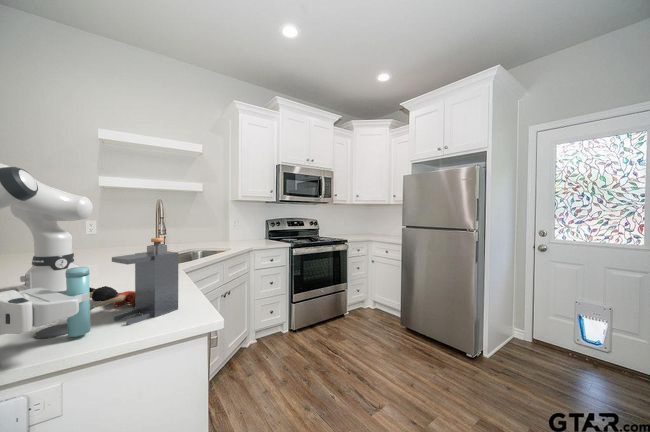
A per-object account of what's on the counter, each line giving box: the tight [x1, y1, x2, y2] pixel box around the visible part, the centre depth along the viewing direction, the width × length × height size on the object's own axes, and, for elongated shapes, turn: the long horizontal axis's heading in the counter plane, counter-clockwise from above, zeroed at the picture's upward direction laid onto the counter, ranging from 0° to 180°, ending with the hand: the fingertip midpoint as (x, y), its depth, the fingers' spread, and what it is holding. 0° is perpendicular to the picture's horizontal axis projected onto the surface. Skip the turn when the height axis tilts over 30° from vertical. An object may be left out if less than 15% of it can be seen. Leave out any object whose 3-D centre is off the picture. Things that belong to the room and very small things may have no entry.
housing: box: [111, 243, 179, 326], centre depth 86 cm, size 10×15×22 cm, turn 155°
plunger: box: [150, 237, 164, 246], centre depth 89 cm, size 3×3×4 cm
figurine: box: [89, 285, 135, 312], centre depth 97 cm, size 29×6×30 cm
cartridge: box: [65, 266, 91, 338], centre depth 71 cm, size 5×5×17 cm
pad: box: [34, 322, 68, 340], centre depth 74 cm, size 8×8×1 cm
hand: (82, 294), depth 72 cm, fingers closed on cartridge, 4 cm apart
